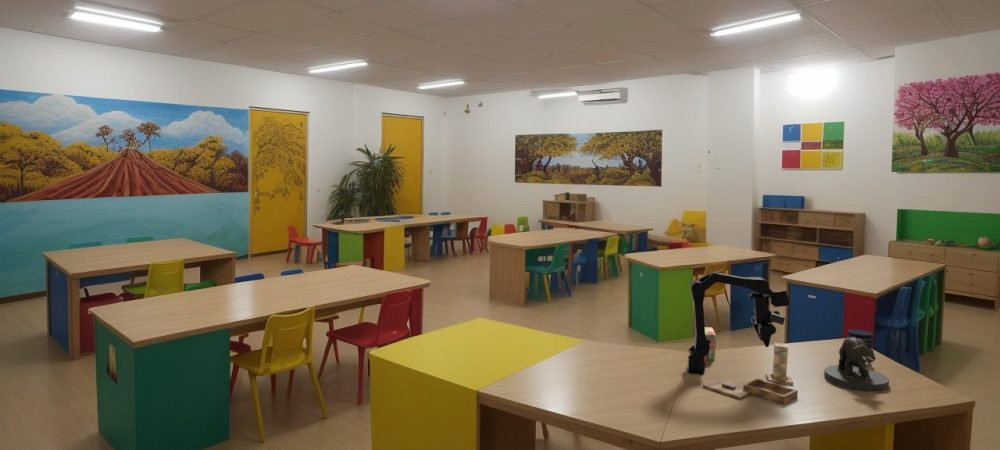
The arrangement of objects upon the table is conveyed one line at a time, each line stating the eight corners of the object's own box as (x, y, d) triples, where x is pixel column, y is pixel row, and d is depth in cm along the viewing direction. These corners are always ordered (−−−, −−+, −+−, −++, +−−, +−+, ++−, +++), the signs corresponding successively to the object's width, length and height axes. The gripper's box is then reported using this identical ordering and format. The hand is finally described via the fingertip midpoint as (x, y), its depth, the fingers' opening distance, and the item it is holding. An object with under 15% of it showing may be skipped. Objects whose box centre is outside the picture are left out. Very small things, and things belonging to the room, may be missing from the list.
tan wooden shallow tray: (743, 391, 235) (743, 384, 234) (757, 385, 241) (757, 378, 241) (783, 404, 222) (783, 397, 222) (797, 397, 229) (797, 390, 229)
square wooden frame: (768, 382, 245) (768, 379, 245) (765, 375, 254) (766, 372, 253) (793, 385, 242) (793, 382, 242) (789, 377, 251) (789, 374, 251)
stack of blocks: (695, 345, 295) (696, 321, 294) (708, 346, 294) (709, 322, 292) (700, 359, 274) (701, 333, 273) (715, 360, 273) (716, 334, 271)
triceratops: (835, 393, 234) (838, 348, 232) (814, 364, 268) (816, 325, 266) (902, 399, 228) (906, 353, 226) (872, 369, 262) (875, 329, 260)
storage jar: (862, 360, 274) (864, 328, 272) (876, 367, 264) (878, 335, 262) (841, 360, 273) (843, 328, 272) (854, 367, 264) (856, 335, 262)
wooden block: (773, 381, 246) (775, 346, 245) (772, 377, 251) (774, 343, 249) (786, 382, 245) (788, 347, 243) (784, 378, 249) (786, 344, 248)
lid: (702, 387, 239) (703, 382, 239) (718, 381, 246) (718, 376, 246) (739, 399, 227) (740, 394, 227) (754, 392, 234) (755, 388, 233)
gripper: (788, 311, 239) (791, 349, 240) (776, 301, 257) (779, 336, 258) (758, 313, 241) (761, 350, 242) (749, 303, 259) (752, 337, 261)
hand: (764, 343), depth 251 cm, fingers open, 9 cm apart
